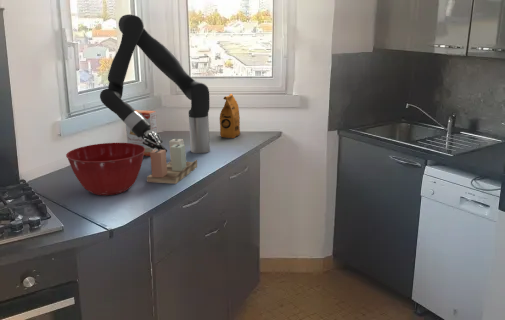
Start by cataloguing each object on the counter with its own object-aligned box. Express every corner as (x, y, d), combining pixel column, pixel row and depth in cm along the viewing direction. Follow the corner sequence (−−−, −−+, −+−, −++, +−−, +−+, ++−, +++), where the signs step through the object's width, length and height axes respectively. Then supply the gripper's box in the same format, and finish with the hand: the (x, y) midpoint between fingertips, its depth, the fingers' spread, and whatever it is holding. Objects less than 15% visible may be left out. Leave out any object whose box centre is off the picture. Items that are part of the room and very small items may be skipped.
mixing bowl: (110, 174, 215) (107, 138, 210) (163, 184, 201) (160, 146, 196) (55, 195, 192) (49, 155, 187) (110, 208, 177) (105, 165, 173)
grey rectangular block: (170, 163, 220) (169, 140, 217) (175, 161, 224) (173, 138, 221) (180, 164, 219) (179, 141, 216) (184, 161, 223) (183, 138, 220)
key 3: (152, 176, 203) (150, 151, 200) (157, 173, 207) (155, 148, 204) (162, 177, 202) (160, 152, 199) (167, 173, 206) (165, 149, 203)
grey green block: (172, 170, 210) (170, 146, 207) (176, 167, 214) (174, 143, 211) (182, 171, 209) (180, 147, 206) (186, 168, 213) (184, 144, 210)
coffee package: (217, 137, 273) (215, 96, 267) (225, 132, 284) (224, 93, 278) (234, 138, 270) (233, 97, 263) (242, 133, 281) (241, 93, 275)
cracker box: (127, 154, 245) (123, 111, 239) (135, 151, 250) (131, 109, 244) (152, 156, 240) (149, 112, 234) (159, 153, 245) (156, 110, 239)
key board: (175, 183, 201) (175, 176, 200) (147, 181, 204) (146, 174, 203) (197, 166, 222) (197, 159, 221) (171, 165, 225) (170, 158, 224)
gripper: (135, 121, 214) (164, 151, 214) (149, 115, 226) (176, 143, 226) (124, 133, 217) (153, 162, 217) (139, 126, 229) (166, 154, 229)
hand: (165, 152), depth 222 cm, fingers closed
